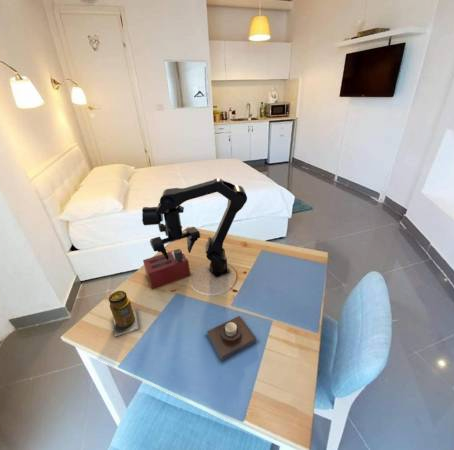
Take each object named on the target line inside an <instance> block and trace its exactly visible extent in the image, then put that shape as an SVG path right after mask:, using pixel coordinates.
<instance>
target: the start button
mask: <svg viewBox="0 0 454 450" xmlns="http://www.w3.org/2000/svg"><path fill="white" fill-rule="evenodd" d="M225 333H226V335H227V336H234V335H236V333H237V326H236V324H235V323H232V322H230V323H227V324H226V326H225Z"/></svg>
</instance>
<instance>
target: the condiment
mask: <svg viewBox="0 0 454 450" xmlns="http://www.w3.org/2000/svg"><path fill="white" fill-rule="evenodd" d="M108 302H109V309H110V311H111V314H112V317H113V333H114V337H119V336H121V335H124V334H127V333H130V332H132V331H135V330H139V324H138V317H137V311H136V310H134V309H133V306H132V304H131V301H130V297H128V295H127V292H126V291H124V290H117V291H114V292H112V293H111V294H110V296H109V297H108Z"/></svg>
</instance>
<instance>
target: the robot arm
mask: <svg viewBox="0 0 454 450" xmlns="http://www.w3.org/2000/svg"><path fill="white" fill-rule="evenodd" d="M215 193H218V194H220V195H222V197H224V198H226V199H227V204H226V208H225V211H224V213H223V214H222V218H221V220H220V221H219V225H218V226H217V229H216V230H215V231H216V232H215V234H214V236H213V237H210V236H208V238H207V241H206V243H205V254H206V259H207V260H209V261H210V263H209V271H210V272H211V274H212V275H214V277H215V278H218V277H221V276H224V275H226V274H229V273H230V269H228V258H227V257H226V250H225V248H224V247H223V245H224V242H225V239H226V237H227V235H228V233H229V230H230V229H231V226H232V224H233V222H234V221H235V218H236V215H237V214H238V213H239V211H241V210H242V209H243V208H244V206H245V205H246V203H247V201H248V196H247V194H246V193H247V192H246V191H245V189H244V187H243V186H241V185H235V184H233V183H231V182H228V181H226V180H223V178H220V177H217V178H214V179H211V180H209V181H204V182H200V183H198V184H194V185H191V186H187V187H181V188H180V187H172V188H166V189H164V190H163V191H162V194H161V195H160V198H159V202H158V204H157V206H150V207H149V206H143V207H142V209H141V210H142V211H141V212H142V213H141V214H142V215H141V216H142V219H141V221H142V224H143V226H156V225H157V226H158V231H159V232H160V233H165V236H166V238H161V236H157V237H154V238H150V240H149V244H150V246H151V248H152V249H153V252H157V253H162V254H164V256H165V257H166V259H167V260H168V255H167V249H166V247H165V245H167V244H169V243H174V242H177V241H180V240H182V239H186V244H187V252H188V254H190V253H191V252H192V250H193V247H194V245H195V243H196V242H197V241H198V239H201V232H200V230H198V228H197V227H195V226H191V227H188V228H185V232H183V226H182V222H181V215H180V214H182V213H184V211H185V207H184V206H183V205H182V204H184V203H185V202H187V201H190V200H194V199H197V198H201V197H204V196H208V195H211V194H215ZM161 222H162V223H161ZM163 222H164V223H163Z"/></svg>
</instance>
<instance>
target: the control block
mask: <svg viewBox="0 0 454 450" xmlns="http://www.w3.org/2000/svg"><path fill="white" fill-rule="evenodd" d="M230 322H232V323H235V324H236V326H237V333H236V335H234V336H227V335H226V333H225V326H226V324H227V323H230ZM206 334H207V338H208V339H209V342H210V343H211V344H212V347H213V348H214V350H215V353H216V354H217V355H218V357H219V359H220V362H223V361H225V360H228V359H229V358H231V357H233V356H234V355H236V354H238V353H240V352H241V351H243V350H245V349H247V348H249V347H250V346H252V345H254V344H256V343H257V337H256V336H255V334H254V333H253V332H252V330H251V329H250V328H249V326H248V325H247V324H246V322H245V321H244V319H243V318H242V317H241V315H237V316H236V317H234V318H232V319H230V320H228V321H225V322H223V323H221V324H219V325H217V326H215V327H214V328H210V329H209V330H207V331H206Z"/></svg>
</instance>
